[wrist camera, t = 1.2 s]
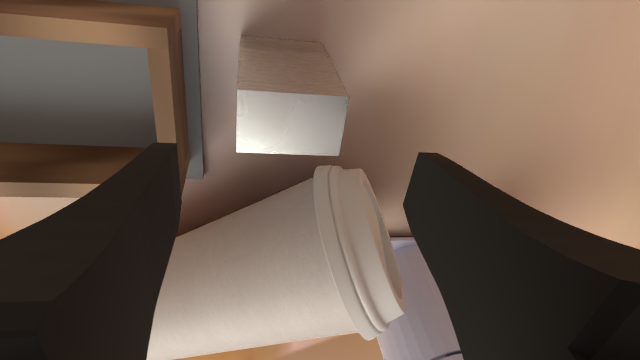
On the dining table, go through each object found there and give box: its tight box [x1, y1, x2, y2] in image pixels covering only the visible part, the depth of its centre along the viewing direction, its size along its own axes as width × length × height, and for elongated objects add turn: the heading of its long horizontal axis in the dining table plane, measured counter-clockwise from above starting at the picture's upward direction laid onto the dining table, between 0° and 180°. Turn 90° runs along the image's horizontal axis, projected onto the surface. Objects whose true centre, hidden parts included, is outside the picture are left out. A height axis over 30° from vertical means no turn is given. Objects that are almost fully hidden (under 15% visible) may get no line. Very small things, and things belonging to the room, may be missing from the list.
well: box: [0, 0, 190, 198], centre depth 17 cm, size 13×8×4 cm, turn 83°
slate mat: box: [0, 0, 204, 179], centre depth 19 cm, size 14×10×1 cm
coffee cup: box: [146, 165, 406, 360], centre depth 23 cm, size 10×10×15 cm
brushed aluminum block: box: [236, 35, 349, 156], centre depth 18 cm, size 4×4×7 cm
